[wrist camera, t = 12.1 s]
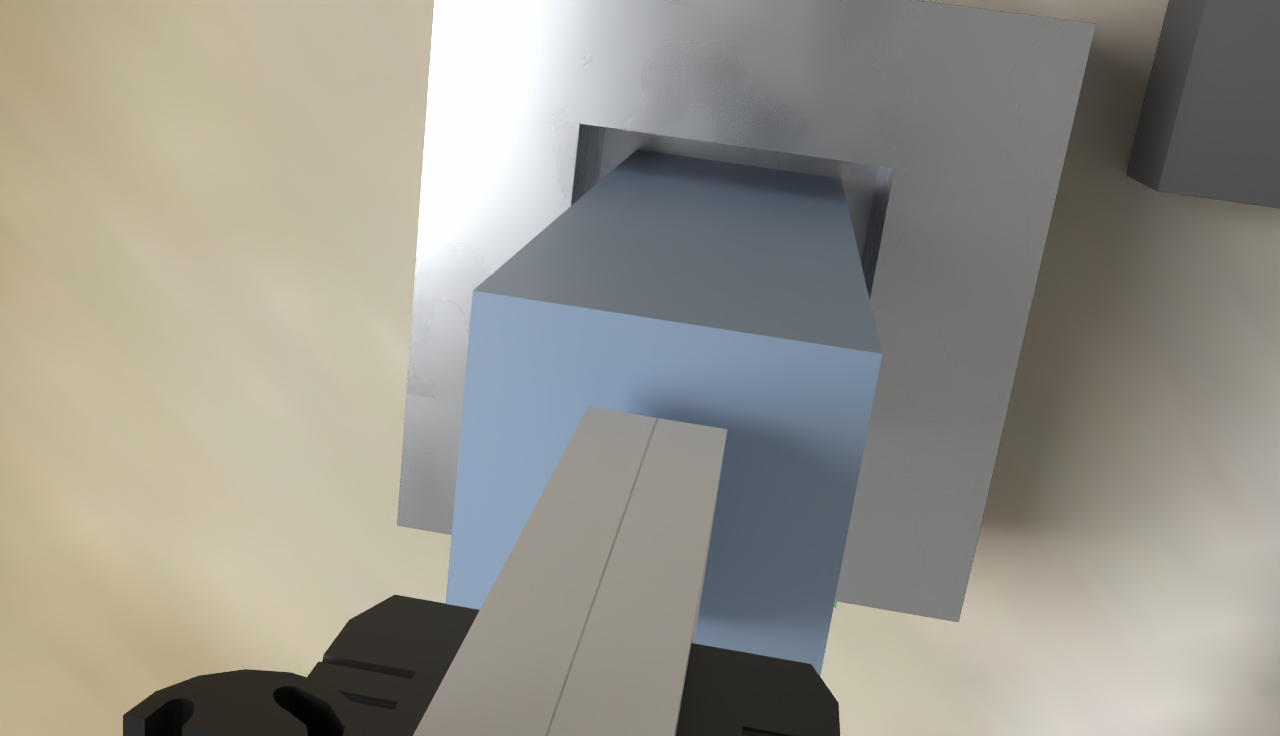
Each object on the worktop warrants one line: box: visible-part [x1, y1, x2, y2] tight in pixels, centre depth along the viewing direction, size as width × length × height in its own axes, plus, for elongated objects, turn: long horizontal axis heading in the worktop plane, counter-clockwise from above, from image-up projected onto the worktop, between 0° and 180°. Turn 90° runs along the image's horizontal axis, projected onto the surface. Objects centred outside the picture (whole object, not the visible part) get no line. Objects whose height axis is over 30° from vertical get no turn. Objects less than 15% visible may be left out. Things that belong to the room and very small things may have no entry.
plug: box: [446, 150, 882, 676], centre depth 20 cm, size 4×4×14 cm
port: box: [397, 0, 1096, 622], centre depth 26 cm, size 13×12×5 cm
